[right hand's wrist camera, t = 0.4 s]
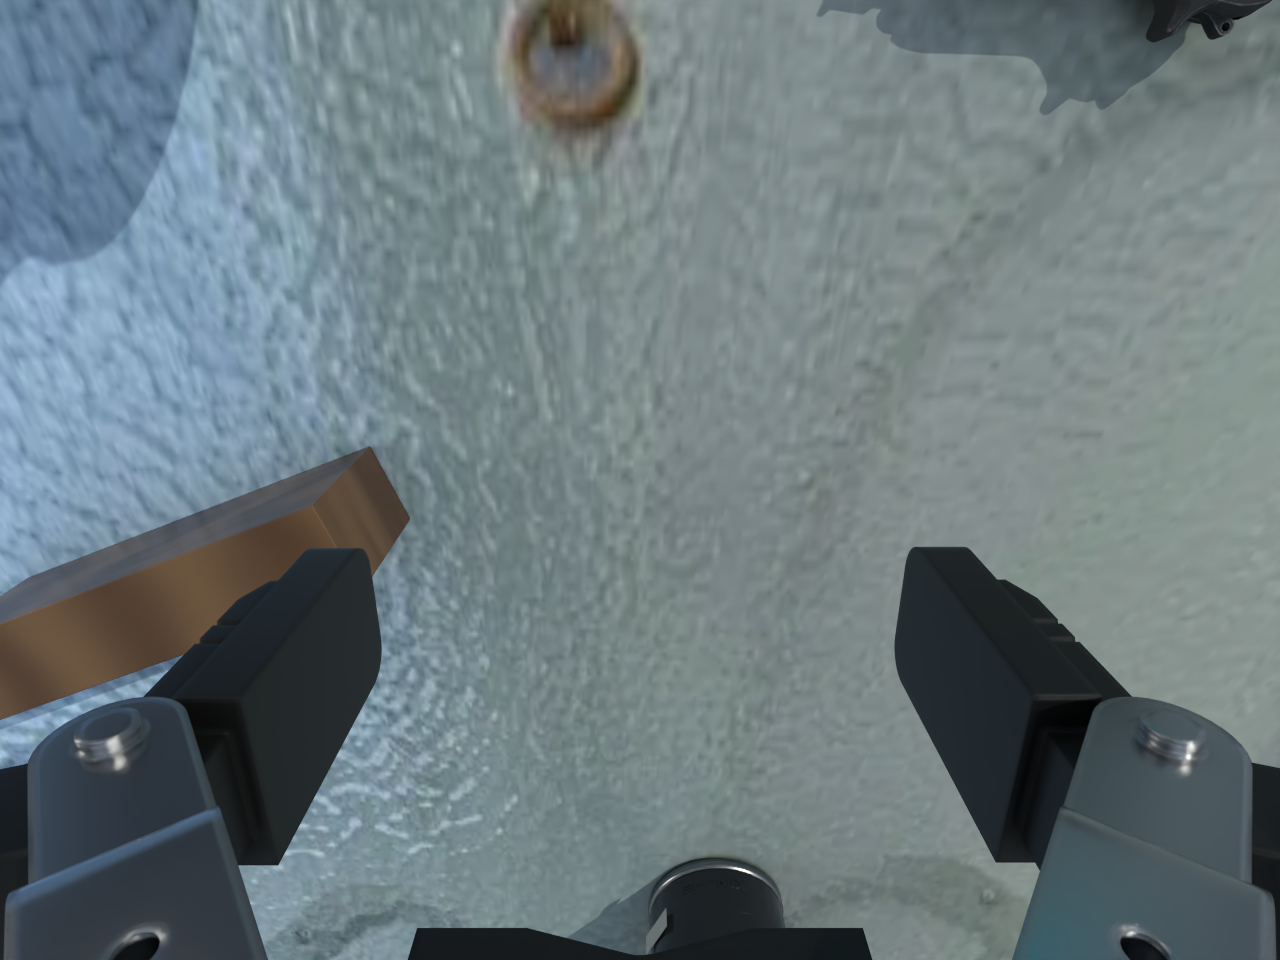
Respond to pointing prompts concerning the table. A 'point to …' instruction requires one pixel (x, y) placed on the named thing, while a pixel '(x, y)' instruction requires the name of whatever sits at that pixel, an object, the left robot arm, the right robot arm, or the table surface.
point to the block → (182, 579)
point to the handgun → (1199, 16)
